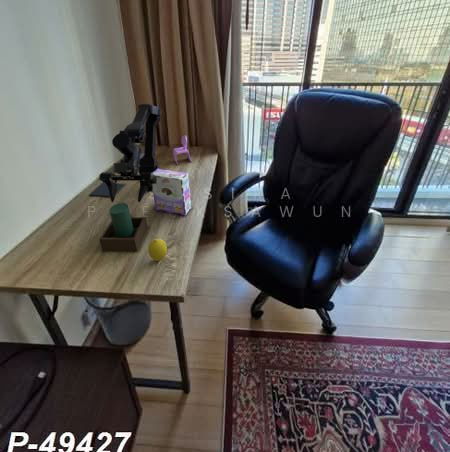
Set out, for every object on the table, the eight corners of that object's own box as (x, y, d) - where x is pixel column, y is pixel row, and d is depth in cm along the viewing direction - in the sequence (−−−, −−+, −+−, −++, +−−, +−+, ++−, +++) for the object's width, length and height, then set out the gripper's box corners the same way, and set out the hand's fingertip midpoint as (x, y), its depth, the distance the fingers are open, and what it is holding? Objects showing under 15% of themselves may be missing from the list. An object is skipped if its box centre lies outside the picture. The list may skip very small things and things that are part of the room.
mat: (103, 183, 122) (102, 182, 122) (124, 184, 121) (124, 183, 120) (89, 195, 112) (89, 194, 112) (112, 197, 111) (112, 196, 111)
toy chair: (173, 160, 146) (170, 135, 139) (188, 157, 149) (186, 133, 142) (177, 165, 139) (174, 140, 132) (192, 162, 142) (190, 137, 135)
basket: (116, 227, 92) (113, 216, 90) (147, 227, 92) (145, 217, 90) (102, 250, 82) (98, 239, 80) (137, 251, 82) (134, 239, 80)
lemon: (152, 253, 81) (148, 234, 77) (169, 252, 81) (166, 233, 78) (148, 267, 76) (144, 247, 72) (167, 265, 76) (164, 245, 73)
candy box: (192, 208, 103) (188, 172, 96) (185, 216, 98) (181, 179, 91) (162, 202, 107) (157, 167, 100) (155, 209, 102) (149, 174, 95)
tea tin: (133, 229, 90) (127, 201, 85) (135, 239, 85) (128, 210, 80) (116, 233, 88) (109, 205, 83) (117, 244, 83) (109, 215, 78)
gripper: (94, 151, 84) (86, 196, 79) (149, 151, 83) (144, 197, 79) (109, 162, 94) (103, 203, 90) (158, 162, 94) (154, 203, 89)
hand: (125, 201), depth 86 cm, fingers open, 9 cm apart
